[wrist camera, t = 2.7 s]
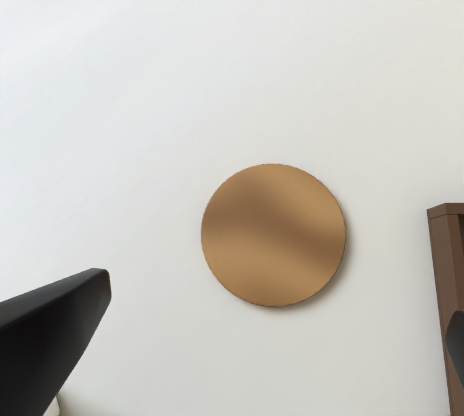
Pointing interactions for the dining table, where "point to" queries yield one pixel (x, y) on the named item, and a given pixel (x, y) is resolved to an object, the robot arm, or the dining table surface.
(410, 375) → the dining table surface
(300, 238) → the coaster
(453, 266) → the tray
